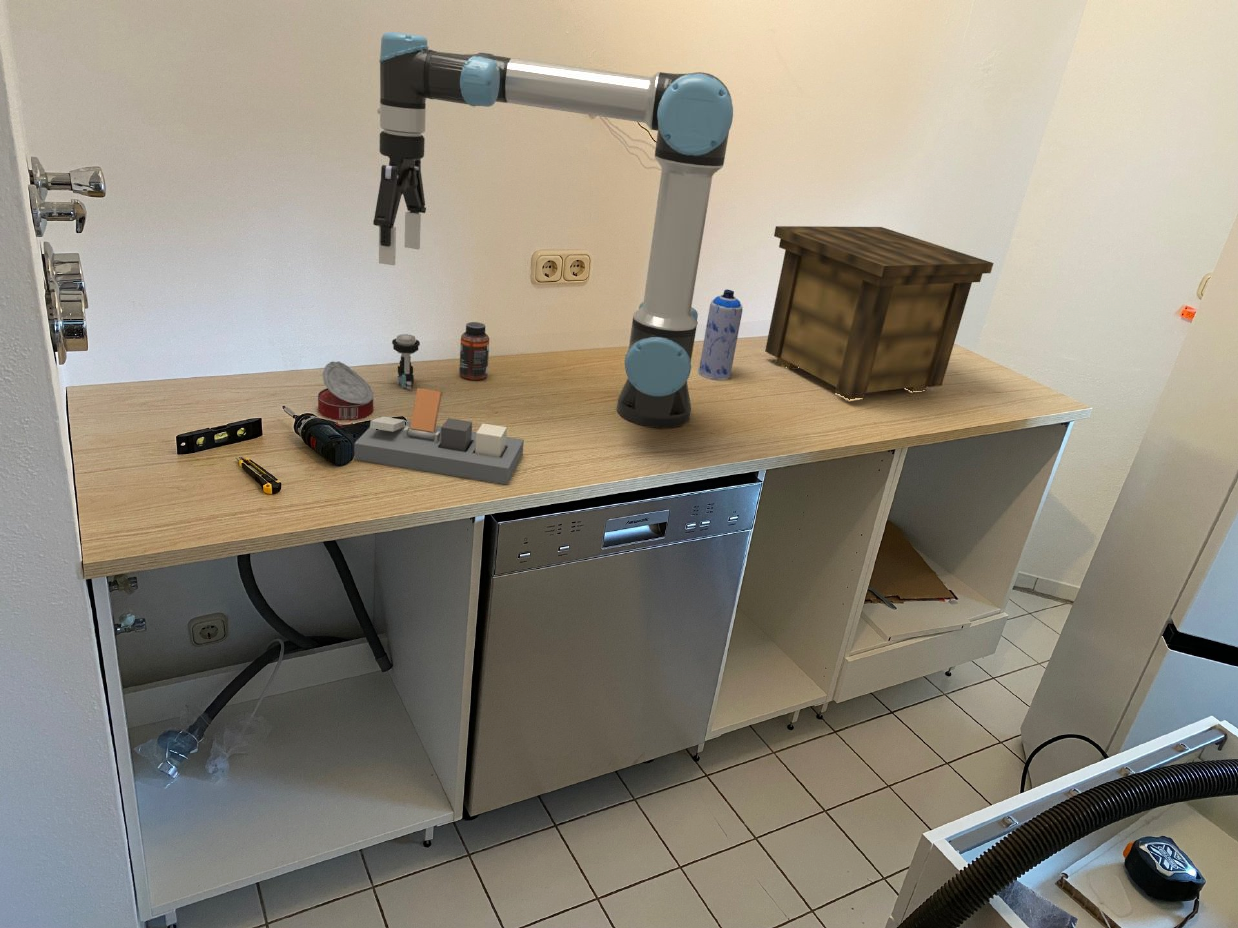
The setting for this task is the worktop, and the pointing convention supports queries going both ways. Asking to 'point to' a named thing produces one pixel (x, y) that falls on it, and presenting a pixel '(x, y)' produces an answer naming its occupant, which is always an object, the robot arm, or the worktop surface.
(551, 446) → the worktop surface
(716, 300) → the aerosol can
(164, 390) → the worktop surface
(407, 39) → the robot arm
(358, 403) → the canned food
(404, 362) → the push button
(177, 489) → the worktop surface
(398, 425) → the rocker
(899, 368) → the crate
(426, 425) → the paddle lever
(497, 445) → the ivory button
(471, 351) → the supplement bottle
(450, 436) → the dark gray button
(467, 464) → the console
